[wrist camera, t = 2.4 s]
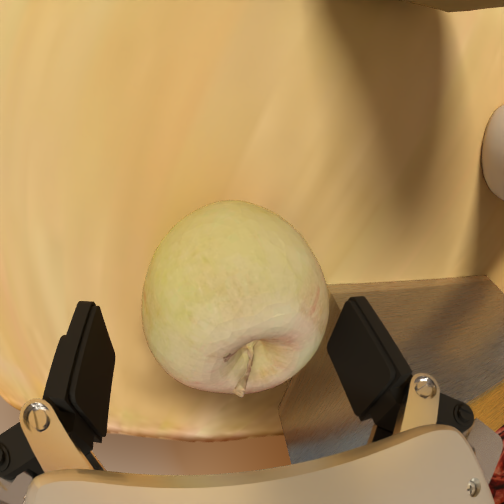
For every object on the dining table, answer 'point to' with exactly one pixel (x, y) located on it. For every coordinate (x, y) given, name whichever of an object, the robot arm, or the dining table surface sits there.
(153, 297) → the fruit
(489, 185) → the cup
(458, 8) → the squeeze bottle
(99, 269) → the dining table surface
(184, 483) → the robot arm
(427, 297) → the box
